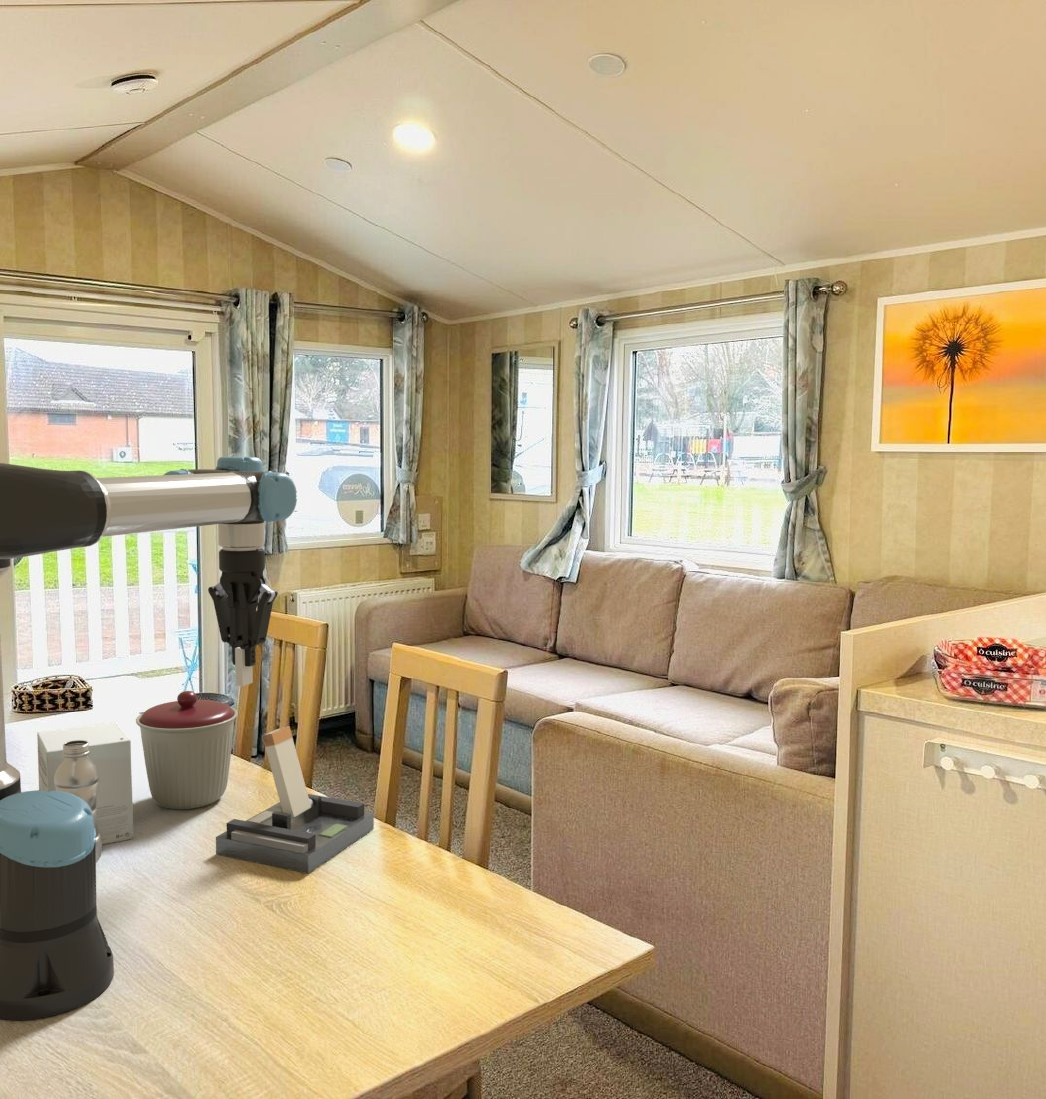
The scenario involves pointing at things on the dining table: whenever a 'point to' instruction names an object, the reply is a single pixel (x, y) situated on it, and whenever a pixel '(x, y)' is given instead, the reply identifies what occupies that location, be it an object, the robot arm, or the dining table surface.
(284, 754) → the lever
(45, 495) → the robot arm
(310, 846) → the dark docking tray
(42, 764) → the supplement box
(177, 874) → the dining table surface
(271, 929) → the dining table surface
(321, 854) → the panel
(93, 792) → the plastic bottle
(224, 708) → the canister
